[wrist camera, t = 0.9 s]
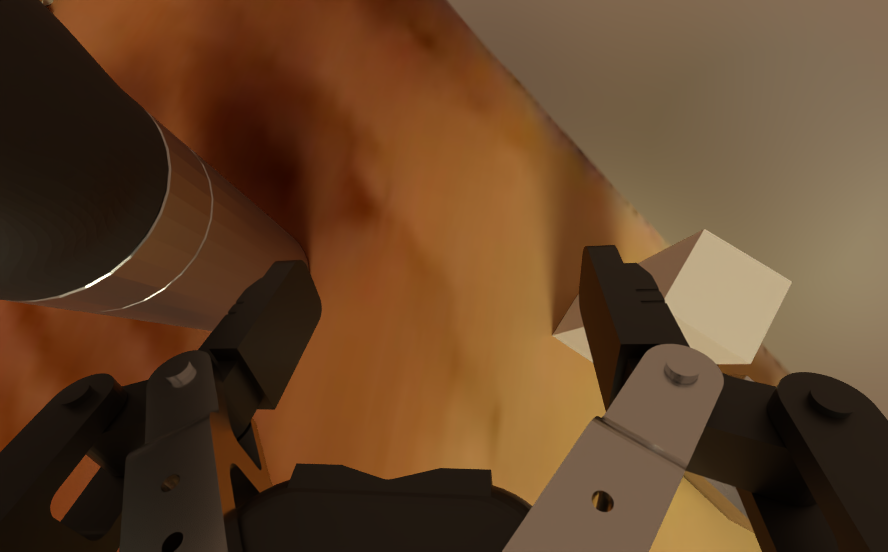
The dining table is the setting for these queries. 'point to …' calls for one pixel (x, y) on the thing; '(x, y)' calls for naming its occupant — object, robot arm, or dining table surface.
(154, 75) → the dining table surface
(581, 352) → the rail post
